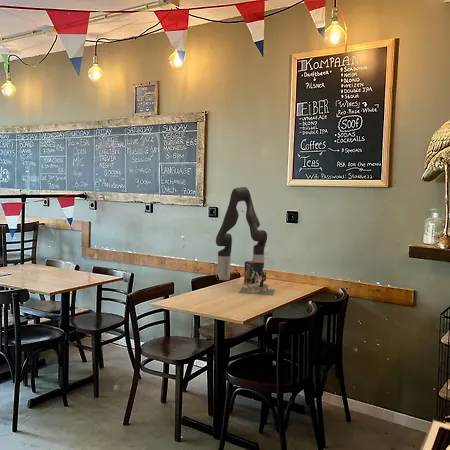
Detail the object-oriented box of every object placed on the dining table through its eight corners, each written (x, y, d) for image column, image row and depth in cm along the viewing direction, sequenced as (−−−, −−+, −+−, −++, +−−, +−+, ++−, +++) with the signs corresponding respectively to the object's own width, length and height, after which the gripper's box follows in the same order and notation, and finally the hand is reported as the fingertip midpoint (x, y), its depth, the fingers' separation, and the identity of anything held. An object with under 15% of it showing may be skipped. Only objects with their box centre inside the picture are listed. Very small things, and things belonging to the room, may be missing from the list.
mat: (238, 293, 299) (238, 293, 299) (242, 287, 316) (242, 287, 316) (272, 296, 296) (272, 295, 296) (274, 290, 312) (274, 289, 312)
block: (267, 290, 308) (252, 293, 301) (263, 289, 312) (247, 291, 304) (268, 283, 308) (252, 285, 300) (263, 282, 311) (247, 284, 304)
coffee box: (243, 284, 327) (244, 261, 326) (250, 283, 331) (251, 260, 330) (252, 286, 320) (253, 263, 318) (259, 285, 324) (260, 262, 322)
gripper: (246, 259, 308) (245, 284, 309) (260, 263, 296) (259, 288, 298) (255, 258, 312) (254, 282, 314) (269, 262, 300) (268, 287, 302)
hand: (257, 285), depth 306 cm, fingers open, 8 cm apart
